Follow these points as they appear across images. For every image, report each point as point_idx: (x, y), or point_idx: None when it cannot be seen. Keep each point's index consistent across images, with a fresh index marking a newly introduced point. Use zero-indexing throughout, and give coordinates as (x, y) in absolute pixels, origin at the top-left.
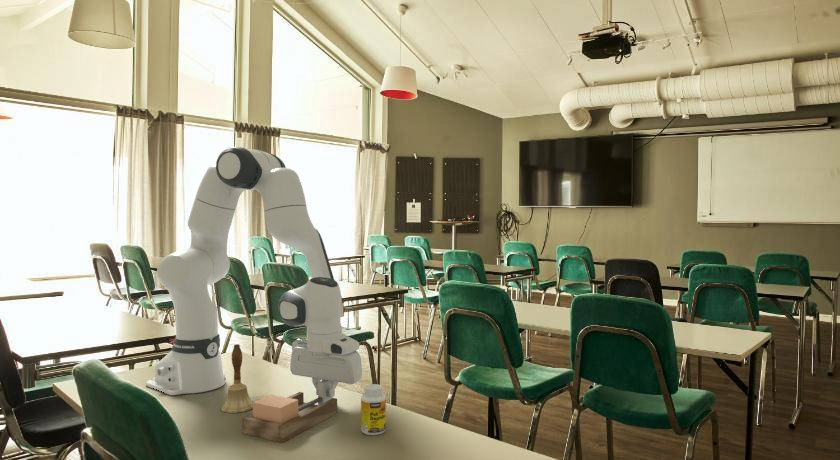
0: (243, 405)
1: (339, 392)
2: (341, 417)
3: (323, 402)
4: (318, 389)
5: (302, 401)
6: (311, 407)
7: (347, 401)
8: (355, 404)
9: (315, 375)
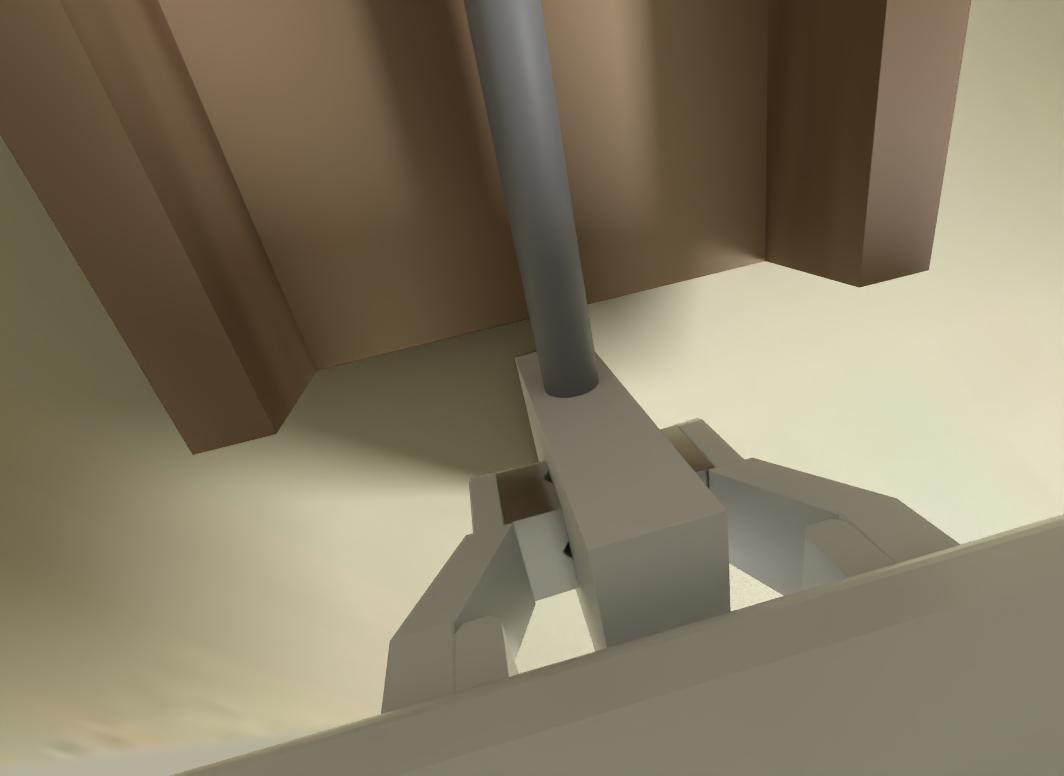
0: None
1: None
2: (81, 299)
3: (524, 382)
4: (651, 437)
5: (776, 241)
6: None
7: None
8: (357, 604)
9: (930, 628)
